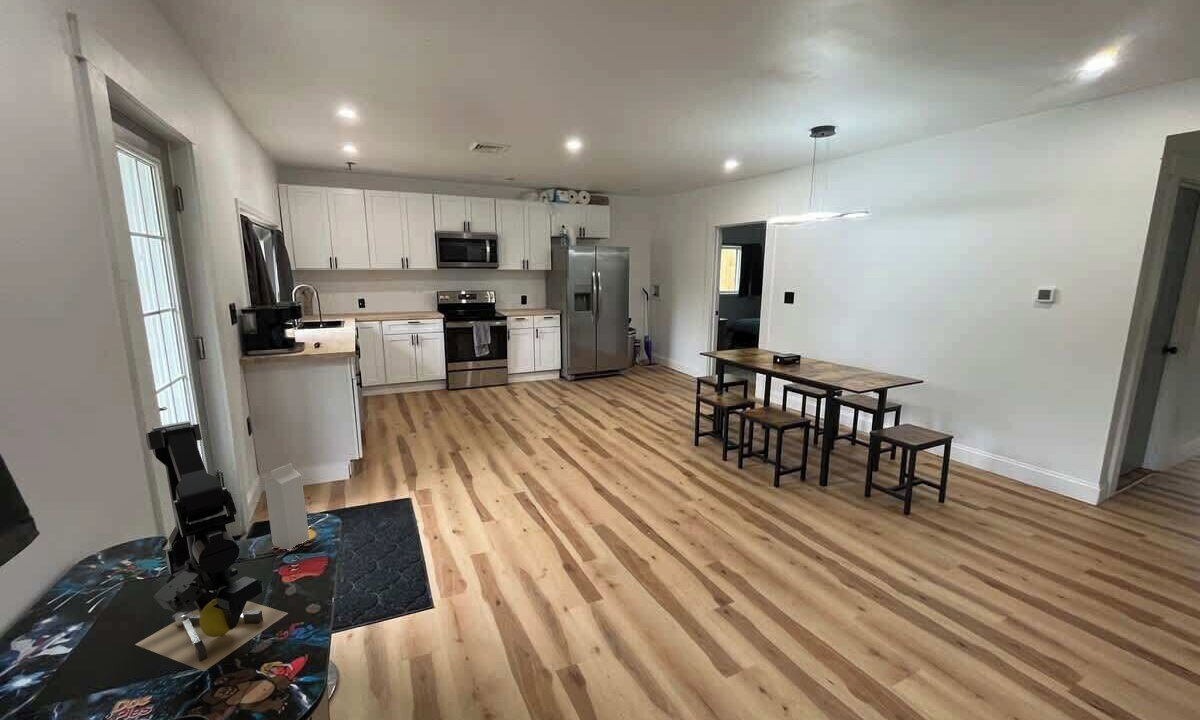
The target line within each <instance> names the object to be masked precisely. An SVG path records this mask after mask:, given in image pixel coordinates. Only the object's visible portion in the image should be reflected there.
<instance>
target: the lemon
mask: <svg viewBox="0 0 1200 720" xmlns="http://www.w3.org/2000/svg"><path fill="white" fill-rule="evenodd" d="M216 604H217V601H216V599H214V600H212V601H211V602H209V603H208V604H207V605H206V606H205V607H204V608H203V610H202V611H201V614H200V627H201V629H202V631H203V633H204V634H206V635H207V636H210V637H218V636H224V635H225V634H226V633H227V632H228V631H229V628H228V626H227V623H226V620H225V617H224V614H223V611H222V610H221V609H218V608H215V607H213V606H214V605H216Z"/></svg>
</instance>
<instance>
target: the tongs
mask: <svg viewBox="0 0 1200 720" xmlns="http://www.w3.org/2000/svg"><path fill="white" fill-rule="evenodd" d="M192 612H193V611H191V610H187V611H186V610H185V611H183V612H182V611H179V612H175V613H174V614H173V615H171V618H172V620H173V621H176V626H177V627H178V628H182V627H183V628H184V630H185V632H186V634H187V636H188V638H189V640H190V642H191V644H192V646H193V648H194V651H195V653H196V655H197V657H198V659H199V661H200V662H201V661H203V660H205V659H207V653H206V648H205V646H204V644H203V642H202V640H201V641H200V639H199V637H198V635H197V634H196V632H195V630H194V628H193V626H192V625H200V615H192ZM262 621H263V616H262V610H251V611H246V612H245V613H244V614H241V616H240V619H239V621H238V623H237V624H260V623H261V622H262Z"/></svg>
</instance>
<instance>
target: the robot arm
mask: <svg viewBox="0 0 1200 720" xmlns="http://www.w3.org/2000/svg"><path fill="white" fill-rule="evenodd" d="M200 427H201V426H200V424H199V423H196V424H191V422H190V420H187V421H180V422H175V423H174V422H173V423H169V424H163V425H157V426H152V427H151V429H152V431H149V432H146V433H145V440H146V445H147V448H148V450H149V451H152V454H153V455H154V457H155V458H156V459H157V461H159V462H160V463H161V464H162V465H164V466H165V472H166V477H167V483H168V489H169V490H168V491H169V495H170V501H171V506H172V507H171V509H172V514H173V518H174V524H175V526H174V528H173V529H172V532H171V533H170V535H169V536H168V546H169V547H168V548H166V550H165V560H166V565H167V569H168V572H169V574H170V576H169V577H168V579H167V581H166V584H165V585H164V586H163V587H161V588H160V589H159V590H157V592H156V593H155V594H154V595H153V598H154V599H155V601H157V603H158V604H159V605H160V606H161V607H162V608H163V610H168V611H171V612H173V613H178V612H182V611H183V610H184V609H186V607H188V606H191V605H192V604H194V605H195V607H196V608H197V609H198V610H199V612H200V613H201V611H202V610H203V608H204V607H205V606H206V605H207V604H208V603H209V602H211V601H212V600H214V599H216V601H217V604H216V605H214V606H213V607H215V608H218V609H221V610H222V611H223V614H224V617H225V620H226V623H227V626H228V628H229V630H232V629H233V628H235V627H236V626H237V623H238V621H239V619H240V616H241V614H242V611H243V609H244V607H245V604H246V602H247V601H249V602H250V601H251V600H252V599H254V598H255V597H258V596H259V595H261V594H262V593H263V592H264V584H263V581H262V580H260V579H256V578H253V577H249V576H245V575H244V576H243V577H240V578H239V579H238V580H232V578H233V577H236V576H237V575H239V572H238V568H235V567H234V568H233V567H232V566H233V565H234V564H235V562H236V561H237V559H238V558H239V555H240V547H239V545H238V544H237V542H236V541H235V540H234V538H233V537H232V535H231V534H230V533H229V531H227V526H226V525H229V524H232V523H235V522H236V518H235V515H237V508H236V505H235V503H234V499H233V496H232V492H230V491H229V490H228V488H227V487H225V486H224V487H223V486H222V485H221V482H220V480H219V478H218V477H217V476H215V475H212V474H210V473H208V471H207V469H206V467H205V463H204V461H203V458H202V456H201V453H200V449H199V446H198V441H202V440H203V438H202V432H201V428H200ZM224 511H226V513H225V514H224ZM219 514H220V515H219ZM216 515H218V516H216Z"/></svg>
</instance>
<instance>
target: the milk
mask: <svg viewBox="0 0 1200 720" xmlns="http://www.w3.org/2000/svg"><path fill="white" fill-rule="evenodd" d="M270 475H271V476H270V477H269V478H267V479H266V480H264V489H265V497H266V502H267V511H268V512H267V513H268V518H269V519H268V520H269V527H270V532H271V533H270V534H271V540H272V546H273V545H274V546H277V547H280V548H284V549H289V550H290V549H292V548H293V547H295V546H296V545H298V544H300V543H302V542H304V541H305V540H307V539H309V540H310V533H309V525H308V524H309V523H308V517H307V509H306V502H305V501H306V500H305V493H304V486H303V485H304V484H303V478H302V477H303V476H302V474H301V473H299V472H298V471H297V469H295V468H294V466H293V463H291V462H290V463H288V464H285V465H282V466H280V467H277V468H275V469H272V470H271V471H270Z"/></svg>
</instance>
